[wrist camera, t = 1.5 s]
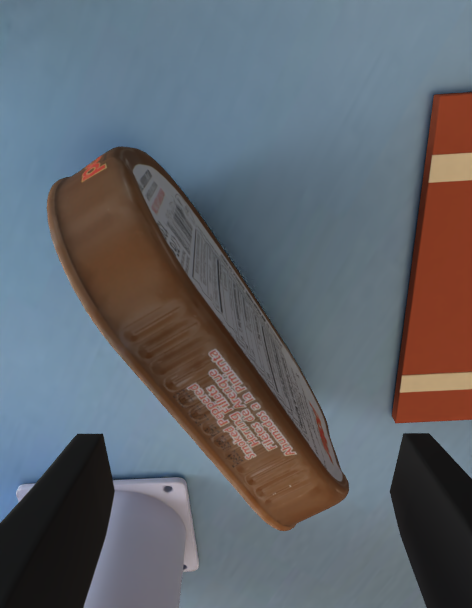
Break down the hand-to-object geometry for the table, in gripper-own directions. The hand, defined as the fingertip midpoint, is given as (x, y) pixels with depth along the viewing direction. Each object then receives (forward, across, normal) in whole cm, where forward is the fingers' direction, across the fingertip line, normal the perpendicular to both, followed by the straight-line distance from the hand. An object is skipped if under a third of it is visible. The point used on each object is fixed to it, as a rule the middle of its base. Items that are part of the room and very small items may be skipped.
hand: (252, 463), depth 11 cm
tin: (+10, +1, 0) cm, 10 cm away
